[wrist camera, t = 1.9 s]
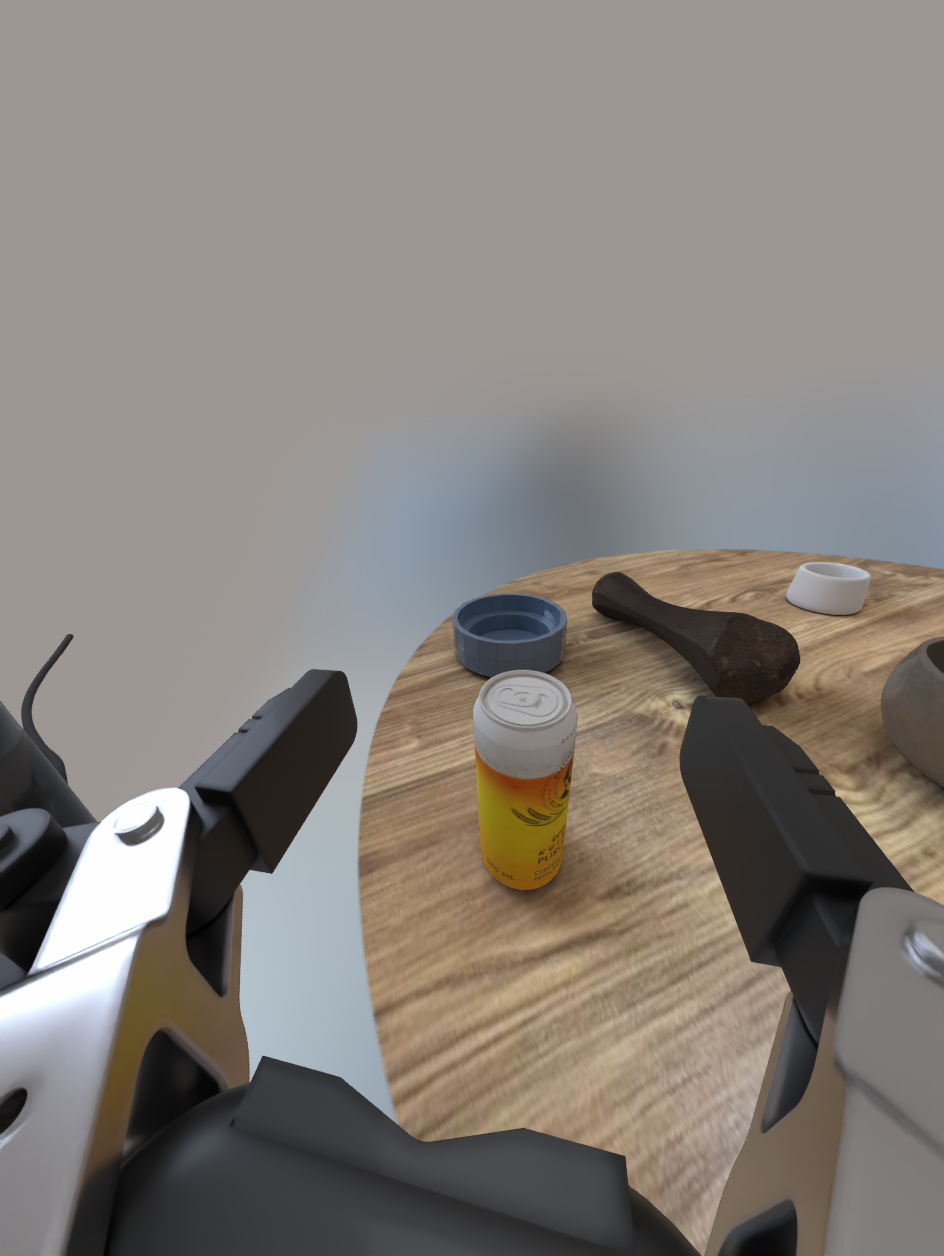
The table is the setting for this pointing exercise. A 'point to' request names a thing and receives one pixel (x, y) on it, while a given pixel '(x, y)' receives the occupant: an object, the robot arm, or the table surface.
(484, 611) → the blue bowl
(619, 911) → the table surface
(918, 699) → the bowl
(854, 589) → the white tapered round piece
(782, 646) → the dark brown pestle
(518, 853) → the beer can
